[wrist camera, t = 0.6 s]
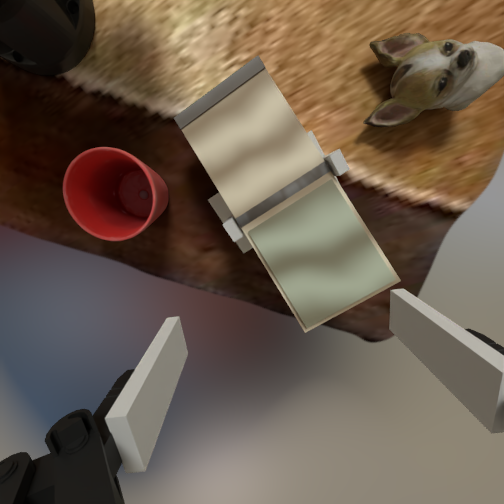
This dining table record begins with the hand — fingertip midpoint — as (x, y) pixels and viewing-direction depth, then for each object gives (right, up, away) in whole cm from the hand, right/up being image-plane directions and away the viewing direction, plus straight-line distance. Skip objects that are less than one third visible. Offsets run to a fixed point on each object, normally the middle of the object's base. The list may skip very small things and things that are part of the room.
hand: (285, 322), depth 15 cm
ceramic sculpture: (+21, +28, +19) cm, 39 cm away
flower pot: (-19, +13, +22) cm, 32 cm away
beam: (+2, +11, +15) cm, 19 cm away
